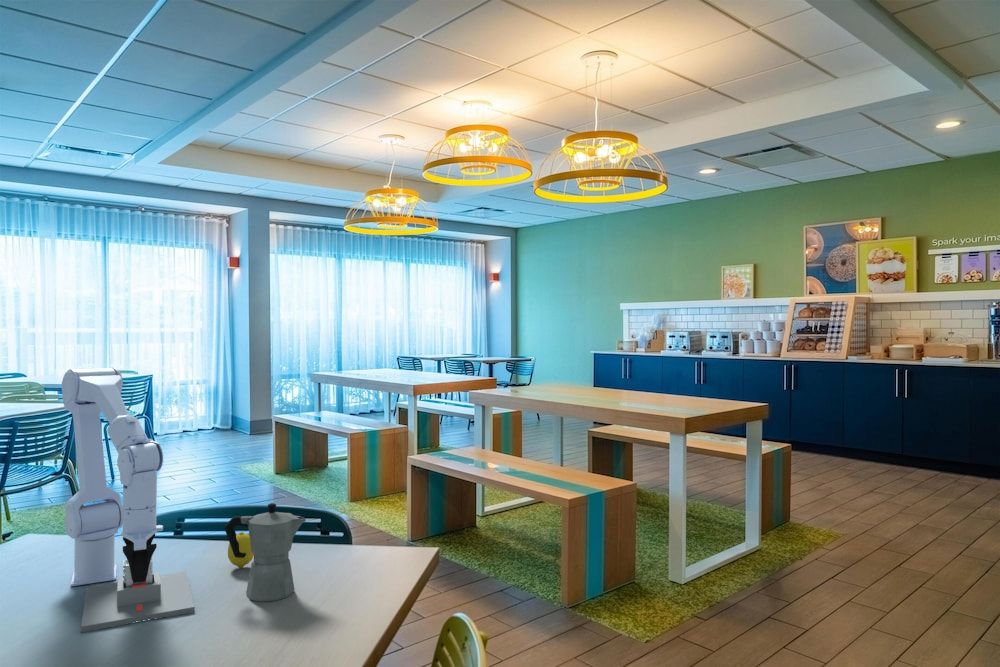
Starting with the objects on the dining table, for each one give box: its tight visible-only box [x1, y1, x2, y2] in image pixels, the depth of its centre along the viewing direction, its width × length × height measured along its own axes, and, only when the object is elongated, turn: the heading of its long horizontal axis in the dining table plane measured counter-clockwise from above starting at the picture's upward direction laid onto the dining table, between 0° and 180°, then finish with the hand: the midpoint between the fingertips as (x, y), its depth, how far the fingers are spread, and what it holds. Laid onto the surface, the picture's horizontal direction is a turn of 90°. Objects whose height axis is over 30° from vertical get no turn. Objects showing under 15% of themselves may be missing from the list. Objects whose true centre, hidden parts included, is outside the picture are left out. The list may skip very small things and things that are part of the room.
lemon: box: [227, 531, 254, 569], centre depth 147 cm, size 6×6×8 cm
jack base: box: [80, 571, 196, 633], centre depth 129 cm, size 20×18×4 cm
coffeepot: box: [224, 502, 307, 603], centre depth 134 cm, size 15×9×18 cm, turn 102°
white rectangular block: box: [122, 556, 153, 588], centre depth 129 cm, size 5×5×7 cm
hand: (139, 576), depth 129 cm, fingers open, 5 cm apart
